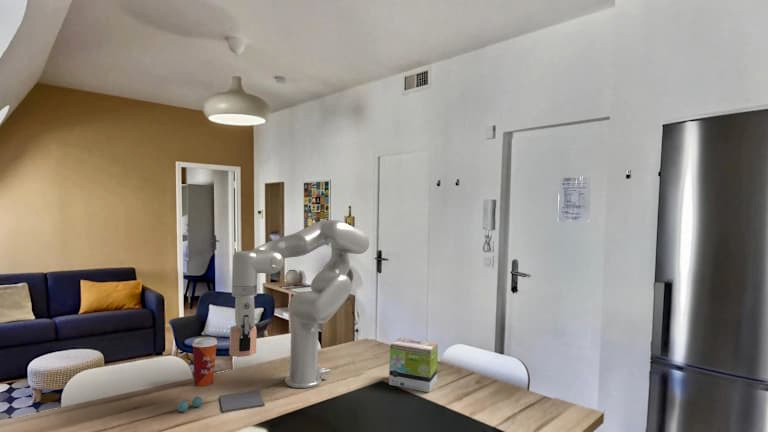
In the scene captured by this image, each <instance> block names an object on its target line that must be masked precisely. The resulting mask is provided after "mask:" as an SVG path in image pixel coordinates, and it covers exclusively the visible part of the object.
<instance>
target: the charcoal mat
mask: <svg viewBox="0 0 768 432" xmlns="http://www.w3.org/2000/svg"><path fill="white" fill-rule="evenodd" d="M219 400H220V405H221V410H222V413H228V412H229V413H230V412H235V411H243V410H249V409H253V408H255V409H256V408H261V407H265V405H266V404H265V402H264V399H263V397H262V395H261V392H260V390H259V389H257V390H249V391H242V392H235V393H227V394H222V395H219Z"/></svg>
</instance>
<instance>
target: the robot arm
mask: <svg viewBox="0 0 768 432" xmlns="http://www.w3.org/2000/svg"><path fill="white" fill-rule="evenodd" d="M327 244H330V247H331V248H330V249H331V255H330V259H329V261H328V262H326V264H325V265H324V266H323V267H322V268H321V269H320V270H319V272H318V273H317V274H316V275H315V276H314V278H313V279H312V281H311V284H310V289H311V292H309V291H299V292H297V293H295V294H294V295H293V296H292V297H291V298H290V300H289V302H288V313H289V319H290V355H289V356H290V358H289V359H290V360H289V375H288V376H287V377H286V378H285V379H284V380H285V381H284V382H285V384H286V386H289V387H291V388H294V389H295V388H296V389H307V388H312V387H315V386H318V385H319V384H321V382H322V379H323V378H322V376H326V375H331V373H332V372H331V371H332V370H331V368H325V367H321V368H319V367H318V357H319V356H318V355H319V354H318V353H319V351H318V350H319V327H318V324H324V323H326V322H328V321H329V320H330V319H332V318H333V316H334V315H335V314H336V313H337V311H338V310H339V309H340V307H342V305H343V304H344V303H345V302H346V300H347V298H348V297H349V295H350V293H351V291H352V282H351V279H350V277H349V276H348V273H349V271H350V268H351V261H350V255H351V254H354V255H362V254H364V253H365V252H367V251H368V249H369V247H370V239H369V236H368V235H367V233H365V232H364V231H362V230H360V229H358V228H356V227H355V226H353V225H350V224H348V223H346V222H344V221H341V220H338V219H337V220H330V219H329V220H328V219H322V220H320V221H317V222H315V223H313V224H311V225H309V226H307V227H305V228H303V229H301V230H298V231H296V232H294V233H292V234H288V235H286V236H282V237H279V238H276V239H274V240H271V241H268V242H265V243H263V244H261V245H259V246H257V247H255V248H253V249H252V250H242V251H241V250H239V251H236V252H234V253H233V255H232V273H231V274H232V275H231V276H232V278H231V279H232V280H231V296H232V297H233V298H234V297H235V301H234V302H235V303H234V322H235V326H237V327H238V329H240V338H239V351H240V352H241V351H249V350H250V339H251V337H250V327H252V328H254V327H255V326H256V325H255V323H256V322H255V316H256V315H255V297H256V296H257V295H258V275H259V274H267V275H268V274H269V275H271V274H277V273H278V272H280V271H281V269H283V267H284V264H285V260H284V259H290V258H297V257H302V256H303V257H304V256H306V255H308V254H310V253H312V252H313V251H316V250H317V249H318V248H321V247H323V246H324V245H327ZM242 326H244V327H242ZM242 330H244V331H243V332H242Z"/></svg>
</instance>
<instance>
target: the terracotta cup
mask: <svg viewBox="0 0 768 432" xmlns="http://www.w3.org/2000/svg"><path fill="white" fill-rule="evenodd" d="M242 327H244V326H242ZM243 331H244V330H242V332H243ZM257 331H258V330H257V325H255V327H254V328H252V327H250V337H251V339H250V350H249V351H241V352H240V351H239V338H240V329H238V327H237V326H236V325H232V326H231V327H230V329H229V352H228V353H229V356H231V357H236V358H242V357H243V358H244V357H250V356H252V355H255V354H256V353H257Z"/></svg>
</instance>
